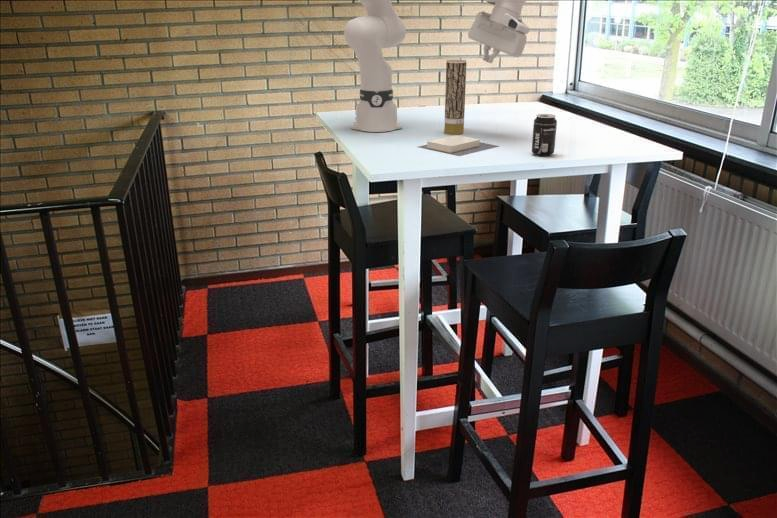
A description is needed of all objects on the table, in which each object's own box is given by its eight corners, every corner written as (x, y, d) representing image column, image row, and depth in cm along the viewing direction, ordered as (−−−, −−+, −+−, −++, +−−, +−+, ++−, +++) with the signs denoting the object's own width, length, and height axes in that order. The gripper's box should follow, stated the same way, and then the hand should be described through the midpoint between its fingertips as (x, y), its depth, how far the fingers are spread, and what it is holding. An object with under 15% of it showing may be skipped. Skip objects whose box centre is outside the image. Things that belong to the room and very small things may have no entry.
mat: (457, 139, 225) (457, 137, 225) (499, 147, 213) (500, 146, 213) (416, 148, 212) (416, 146, 212) (459, 157, 200) (459, 156, 200)
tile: (456, 135, 218) (427, 141, 209) (479, 139, 211) (450, 146, 202) (456, 142, 219) (426, 148, 210) (479, 146, 212) (450, 153, 203)
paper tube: (441, 135, 231) (443, 61, 222) (447, 131, 237) (449, 59, 228) (460, 136, 229) (463, 61, 220) (465, 132, 235) (468, 59, 225)
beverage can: (531, 151, 207) (534, 113, 203) (553, 152, 206) (557, 113, 201) (531, 156, 201) (534, 117, 196) (554, 157, 200) (557, 117, 195)
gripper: (473, 7, 213) (457, 49, 218) (524, 26, 202) (506, 70, 207) (484, 11, 218) (468, 52, 223) (534, 30, 207) (516, 73, 212)
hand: (487, 61), depth 215 cm, fingers closed
